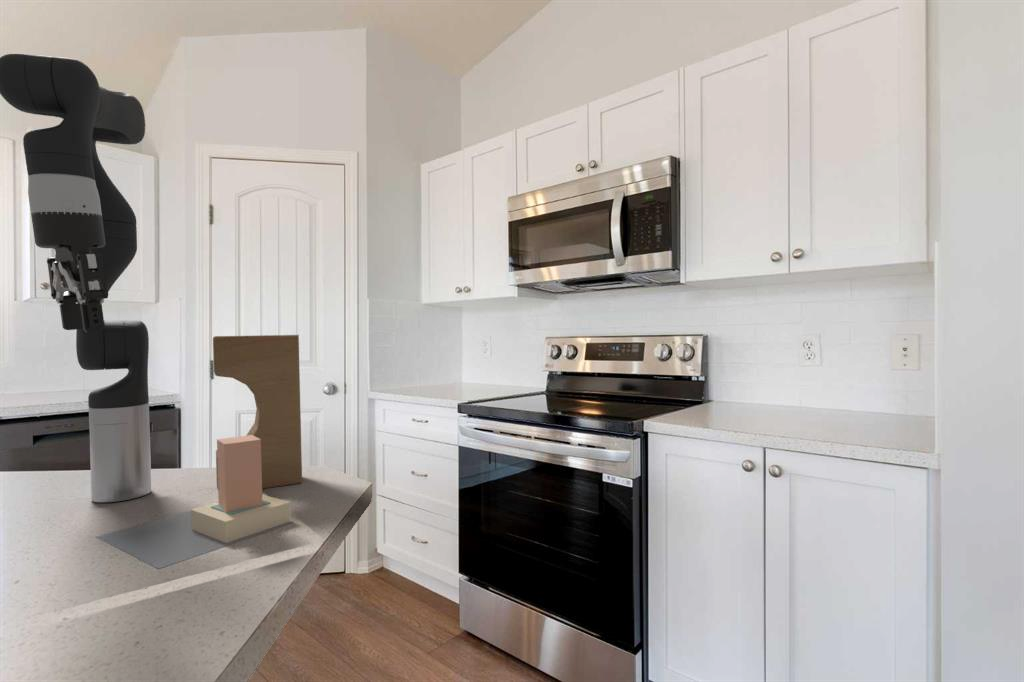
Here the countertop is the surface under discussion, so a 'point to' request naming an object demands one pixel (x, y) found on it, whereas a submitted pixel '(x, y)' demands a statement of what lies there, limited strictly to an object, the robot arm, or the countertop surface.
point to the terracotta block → (239, 472)
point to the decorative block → (268, 398)
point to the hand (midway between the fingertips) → (83, 330)
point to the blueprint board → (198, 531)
